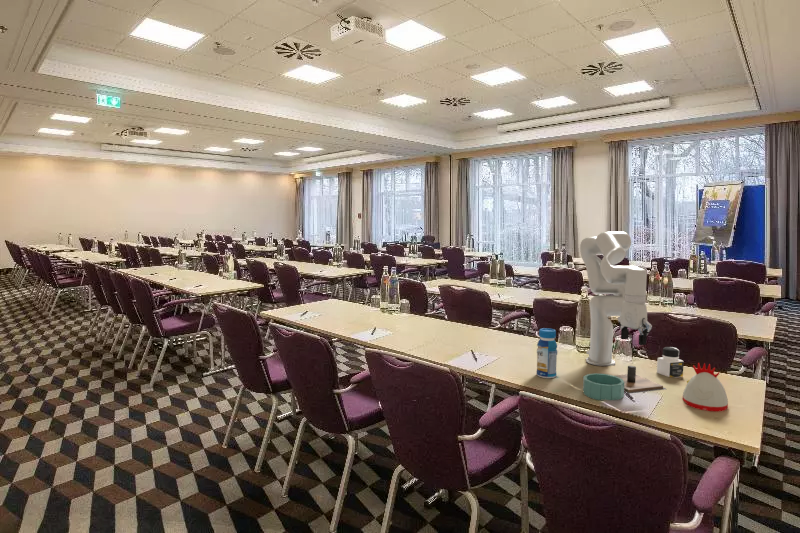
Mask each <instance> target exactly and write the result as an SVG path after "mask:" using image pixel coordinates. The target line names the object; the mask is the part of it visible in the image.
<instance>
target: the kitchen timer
mask: <svg viewBox="0 0 800 533" xmlns="http://www.w3.org/2000/svg"><path fill="white" fill-rule="evenodd" d="M692 366H693V367H692V368H693V370H694V372H695V374H694V375H693V376H692V377H691V378H690V379H688V380H686V385H685V388H684V390H683V392H682V401H683V402H684V403H685V405H686V406H688V407H691V408H693V409H698V410H701V411H706V412H725V411H727V410H728V408H729V401H728V396H727V393H726V390H725V387H724V385H723V383H722V382H721V381H720V379H719V378H718V376H719V375H720V371H718V372H717V373H715V370H716V367H713V368H711V364H710V363H709V364H708V366H707V367H706V363H705V362H704V363H703V366H702V368H701V365H700V362H697V367H696V366H695V365H694V364H693V365H692Z"/></svg>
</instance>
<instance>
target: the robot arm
mask: <svg viewBox="0 0 800 533" xmlns="http://www.w3.org/2000/svg"><path fill="white" fill-rule="evenodd" d="M631 245H632V239H631V236H630V235H629V233H627V232H625V231H604V232H600V233H599V234H598V235H596V236H588V237H587V236H586V237H585V238H583V239H582V240H581V241H580V244H579V252H580V257H581V259H582V262H583V263H584V266H585V268H586V273H587V279H588V286H589V289H590V292H591V293H593V294H597V295H594V296H593V297H591V298H590V300H589V304H588V305H589V306H588V307H589V311H590V312H589V313H590V340H589V350H587V351H586V354H587V355H588V357H586V358H585V361H586V363H588V364H590V365H594V366H597V367H598V366H599V367H611V366H615V365H616V360H614V359H613V343H614V342H613V341H614V340H613V339H614V338H613V337H614V326H613V323H612V321H611V320H610V319H609V317H617V321H618V325H619V329H620V340H629V335H630V334H629V329H632V330H637V331H638V332H639V334H638V345H639V346H646V345H647V340H648V337H647V336H648V335H649V333H650V332H651V330H652V329H653V328H652V327H653V325H652V324H651V323H650V322H649V321H648V309H647V308H648V307H647V304H646V303H647V302H646V299H647V280H648V279H647V277H648V276H647V275H648V272H647V270H646V269H645V268H641V267H639V266H636V265H617V264H619V263H620V262H622V261H623V260H624V259H625V257H626V251H628V250H629V249H630V247H631ZM598 255H602V256H603V257H602V258H600V257H598Z"/></svg>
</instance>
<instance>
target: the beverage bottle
mask: <svg viewBox="0 0 800 533" xmlns="http://www.w3.org/2000/svg"><path fill="white" fill-rule="evenodd" d="M538 332H539V333H538V336H539V340H538V341H537V344H536V347H537V348H536V375H537V376H538V377H539V378H543V379H554V378H556V377H557V359H558V358H557V357H558V349H557V348H558V342H556V340H555V339H556V337H557V331H556V329H553V328H547V327H546V328H545V327H543V328H540V329H539V331H538Z"/></svg>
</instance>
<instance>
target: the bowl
mask: <svg viewBox="0 0 800 533" xmlns="http://www.w3.org/2000/svg"><path fill="white" fill-rule="evenodd" d="M582 378H583V379H582V383H583V384H582V391H583V394H584V396H586V397H587V398H590V399H593V400H596V401H601V402H604V401H618V400H622V399H623V398H624V397H625V392H624V381H623V379H621V378H619V377H616V375H612V374H607V373H596V372H595V373H588V374H585V375H583V377H582Z"/></svg>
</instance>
